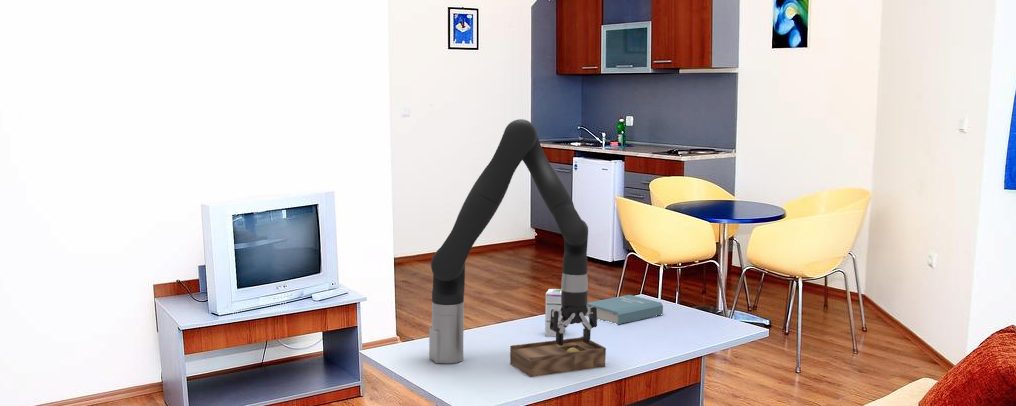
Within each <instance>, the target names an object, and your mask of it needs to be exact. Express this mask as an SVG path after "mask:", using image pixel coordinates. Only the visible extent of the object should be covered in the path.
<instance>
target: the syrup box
mask: <svg viewBox="0 0 1016 406" xmlns="http://www.w3.org/2000/svg"><path fill="white" fill-rule="evenodd" d="M561 307H562V305H561V288H548V290H547V291H546V292H545V307H544V308H545V311H544V312H545V320H544V321H545V324H544V325H545V328H544V330H545V332H544V333H545V336H546V337H552V338H553V337H554V338H556V332H554V331H553V330H551V329H550V318H551V310H552V309H554V310H561ZM561 318H562V315H560V317H559V318H558V324H559V321H560V319H561ZM564 322H565V321H564ZM562 333H563V336H564V335H565V334H566V328H565V329H564V331H563V332H562Z"/></svg>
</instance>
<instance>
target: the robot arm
mask: <svg viewBox="0 0 1016 406" xmlns="http://www.w3.org/2000/svg"><path fill="white" fill-rule="evenodd" d="M521 162H523V163H524V165H525V166H526V168H527V171H529V173H530V175H531V177H532V179H533V182H534V183H535V185H536V186H535V187H536V188H537V190H538V193H539V194H540V196H541V198H542V200H543V202H544V204H545V205H546V207H547V209H548V210H549V212H550V214H551V215H552V217H553V218H554V220H555V222H556V223H555V224H556V225H557V227H558V229H559V231H560V233H561V235H562V237H563V241H564V242H563V246H564V251H563V258H562V276H561V286H560V287H561V288H560V289H561V305H562V307H561V310H554V309H552V310H551V318H550V329H551V330H553V331H554V332H556V337H555V340H556V343H557V344H558V345H560V346H563V339H564V335H563V333H562V332H563V331H564V329H565V330H566V328H567V327H568V326H569V325H574V324H581V325H582V326H583V328H582V330H583V331H582V334H583V335H582V336H583V341H584V342H586V343H588V342H589V340H591V330H592V329H593V328H596V327H597V326H598V319H597V308H596V307H594V306H589V307H587V303H588V295H589V294H588V293H589V292H588V290H589V289H588V288H589V285H588V284H589V282H588V281H589V279H588V253H587V252H588V242H589V241H588V240H589V226H588V224H587V223H586V222H585V221H584V220H583V219H582V218H581V216H580V214H579V212H577V210H576V208H575V205H574V202H573V200H572V198H571V196H570V194H569V193H568V191H567V189H566V187H565V185H564V184H563V183H562V181H561V179H560V178H559V175H558V174H557V173H556V171H555V170H554V168H553V167H552V165H551V163H550V161H549V160H548V158H547V156H546V154H545V152H544V149H543V148H542V145H541V142H540V139H539V136H538V132H537V129H536V127H535V125H534V124H533V123H532V122H530V121H529V120H527V119H521V118H520V119H515V120H513V121H510V123H508V124H507V125H506V127H505V128H504V131H503V134H502V137H501V139H500V141H499V144H498V146H497V148H496V151H495V153H494V154H493V156H492V158H491V160H490V161H489V163H488V164H487V165H486V166H485V168H484V170H483V171H482V173H481V174H480V175H479V176H478V178H477V179H476V181H475V182H474V184H473V185H472V187H471V188H470V190H469V193H468V194H467V196H466V198H465V200H464V202H463V203H462V206H461V208H460V210H459V213H458V215H457V218H456V220H455V222H454V225H453V227H452V229H451V231H450V233H449V234H448V236H447V237H446V239H445V241H443V243H442V245H441V247H440V248H438V249H437V250H436V252H434V255H433V256H432V258H431V261H430V268H431V272H432V275H433V276H432V278H433V281H432V289H431V290H432V291H431V325H430V326H429V328H428V329H429V332H428V334H429V335H428V336H429V339H428V342H429V344H428V345H429V346H428V347H429V350H428V351H429V353H428V357H429V359H430V360H431V361H432V362H434V363H435V364H456V363H460V362H462V361H463V360H464V324H465V323H464V316H465V313H464V311H465V310H464V308H465V306H464V304H465V299H464V298H465V287H466V286H465V285H466V283H465V282H466V281H465V280H466V279H465V277H466V276H465V275H466V260H467V259H468V257H469V254H470V252H471V250H472V248H473V246H474V245H475V243H476V241H477V240H478V238H479V237H480V236H481V234H482V233H483V231H484V230H485V228H487V226H488V225H489V224H490V222H491V221H492V219H493V217H494V215H495V213H497V210H498V209H499V207H500V206H501V203H502V202H503V200H504V197H505V195H506V194H507V191H508V188H509V185H510V183H511V181H512V178H513V176H514V174H515V172H516V170H517V168H518V167H519V165H520V164H521ZM587 312H588V313H589V317H588V319H587V316H585V315H586V314H587ZM560 315H562V318H561V319H560V321H559V324H558V318H559V317H560ZM564 321H565V322H564Z"/></svg>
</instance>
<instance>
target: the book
mask: <svg viewBox="0 0 1016 406" xmlns="http://www.w3.org/2000/svg"><path fill="white" fill-rule="evenodd" d="M589 306H594V307H596V308H597V320H598V319H600V320H599V321H601V320H603V321H602V322H605V321H609V322H612V323H616V324H620V325H623V324H622V323H625V324H627V323H626V322H629V323H632V322H631V321H634V322H636V321H635V320H638V321H640V320H639V319H643V320H645V319H644V318H647V319H649V318H648V317H652V316H656V315H661V314H662V315H663V314H664V305H663V304H662V302H661V301H656V300H652V299H649V298H644V297H640V296H635V295H631V294H627V295H621V296H616V297H612V298H605V299H600V300H594V301H590V302H589V301H588V302H587V307H589ZM662 315H661V316H662ZM587 316H588V317H587ZM585 317H587V318H589V313H588V312H587V314H586V315H585ZM656 317H657V316H656ZM652 318H653V317H652ZM612 323H611V324H612Z"/></svg>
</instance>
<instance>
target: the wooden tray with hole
mask: <svg viewBox="0 0 1016 406" xmlns="http://www.w3.org/2000/svg"><path fill="white" fill-rule="evenodd" d="M509 346H510V348H509V349H510V350H509V351H510V352H509V354H510V355H509V358H510V359H509V364H510V365H511V366H513V367H514V368H515V369H516V370H519V371H520V372H522V373H523V374H525V375H527V376H528V377H530V378H533V377H534V378H535V377H541V376H548V375H555V374H556V375H557V374H562V373H563V374H564V373H571V372H577V371H584V370H592V369H600V368H606V359H607V358H606V356H607V355H606V354H607V352H606V351H607V350H606V349H607V348H606V347H605V346H603V345H601V344H599V343H597V342H595V341H592V340H591V339H590V340H589V342H588V343H586V342H584V341H583V335H581V336H580V337H573V338H565V339H564V338H563V346H560V345H558V344H557V343H556V339H555V340H549V341H539V342H531V343H530V342H529V343H522V344H513V345H509ZM569 348H576V349H578V350H579V351H577V352H567V350H568V349H569Z"/></svg>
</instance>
